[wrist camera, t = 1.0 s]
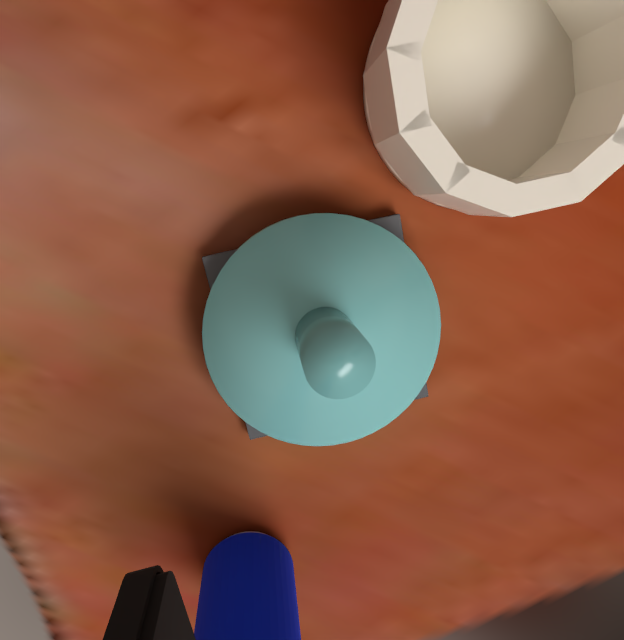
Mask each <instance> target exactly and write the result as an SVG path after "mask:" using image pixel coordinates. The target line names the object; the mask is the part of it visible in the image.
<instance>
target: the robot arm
mask: <svg viewBox="0 0 624 640" xmlns="http://www.w3.org/2000/svg"><path fill="white" fill-rule="evenodd" d="M103 640H196V639H195V636H194V633H193V630H192V627H191V624H190V621H189V618H188V615H187V612H186V609H185V606H184V603H183V600H182V597H181V594H180V591H179V588H178V585H177V582H176V579H175V576H174V574H173V572H172V571H168V572H163V570H162V568H161V567H160V566H158V565H157V566H153V567H149V568H145V569H141V570H138V571H134V572H130V573H127V574H126V575H125V577H124V579H123V581H122V584H121V587H120V590H119V593H118V596H117V599H116V602H115V605H114V608H113V611H112V614H111V617H110V620H109V623H108V626H107V629H106V632H105V635H104V638H103Z"/></svg>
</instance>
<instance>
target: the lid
mask: <svg viewBox="0 0 624 640" xmlns="http://www.w3.org/2000/svg"><path fill="white" fill-rule="evenodd" d="M440 332H441V319H440V308H439V303H438V299H437V294H436V292H435V289H434V286H433V283H432V280H431V279H430V277H429V275H428V273H427V271H426V269H425V267H424V266H423V264H422V263H421V262H420V260H419V259H418V257H417V256H416V255H415V253H414V252H413V251H412V250H411V249H410V248H409V247H408V246H407V245H406V244H405V243H404V242H403V241H401V240H400V239H399V238H398V237H396V236H395V235H394V234H392V233H391V232H389V231H387V230H386V229H384V228H382V227H381V226H379V225H376V224H374V223H372V222H369V221H367V220H364V219H361V218H357V217H353V216H349V215H342V214H334V213H311V214H304V215H297V216H294V217H290V218H287V219H284V220H281V221H279V222H276V223H274V224H272V225H269V226H267V227H266V228H264V229H262V230H261V231H259V232H257V233H256V234H254V235H253V236H252V237H250V238H249V239H248V240H247V241H245V242H244V243H243V244H242V245H241V246H240V247H239V248H238V249H237V250H236V251H235V252H234V253H233V254H232V255H231V256H230V258H229V259H228V261H227V262H226V263H225V265H224V266H223V268H222V269H221V271H220V273H219V274H218V276H217V278H216V280H215V282H214V284H213V286H212V288H211V291H210V294H209V297H208V299H207V302H206V307H205V312H204V316H203V328H202V340H203V351H204V356H205V361H206V365H207V368H208V370H209V373H210V376H211V379H212V381H213V383H214V385H215V386H216V388H217V390H218V392H219V394H220V395H221V396H222V398H223V399H224V401H225V402H226V403H227V405H228V406H229V407H230V408H231V409H232V410H233V411H234V412H235V413H236V414H237V415H238V416H239V417H240V418H241V419H243V420H244V421H245V422H246V423H247V424H249V425H250V426H252V427H254V428H255V429H257V430H258V431H260V432H262V433H264V434H266V435H268V436H271V437H273V438H275V439H278V440H281V441H285V442H288V443H293V444H298V445H306V446H328V445H336V444H342V443H347V442H350V441H353V440H357V439H360V438H362V437H365V436H367V435H369V434H371V433H374V432H376V431H377V430H379V429H381V428H382V427H384V426H386V425H387V424H389V423H390V422H391V421H393V420H394V419H395V418H396V417H398V416H399V415H400V414H401V413H402V412H403V411H404V410H405V409H406V408H407V407H408V406H409V405H410V404H411V403H412V402H413V400H414V399H415V398H416V397H417V395H418V394H419V393H420V391H421V389H422V388H423V386H424V385H425V383H426V381H427V379H428V377H429V375H430V373H431V371H432V369H433V366H434V363H435V360H436V356H437V353H438V348H439V342H440Z"/></svg>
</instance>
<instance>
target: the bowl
mask: <svg viewBox="0 0 624 640" xmlns="http://www.w3.org/2000/svg"><path fill="white" fill-rule="evenodd" d="M363 101H364V110H365V116H366V121H367V125H368V130H369V132H370V135H371V138H372V141H373V143H374V146H375V148H376V150H377V152H378V154H379V156H380V157H381V159H382V161H383V162H384V164H385V165H386V166H387V168H388V169H389V171H390V172H391V173H392V174H393V175H394V176H395V178H396V179H397V180H398V181H399V182H400V183H401V184H402V185H404V186H405V187H406V188H407V189H408V190H410V191H411V192H412V193H413V195H415V196H418V197H420V198H422V199H424V200H426V201H428V202H431V203H433V204H435V205H438V206H442V207H445V208H449V209H455V210H457V211H460V212H463V213H466V214H469V215H481V216H500V217H514V216H519V215H523V214H528V213H532V212H537V211H541V210H546V209H550V208H555V207H559V206H564V205H568V204H573V203H577V202H581V201H582V200H583V199H584V198H585V197H587V196H588V195H589V194H590V193H591V192H592V191H593V190H595V189H596V188H597V187H598V186H599V185H600V184H601V183H603V182H604V181H605V180H606V179H607V178H608V177H609V176H611V175H612V174H613V173H614V172H615V171H616V170H617V169H619V168H620V167H621V166H622V165H623V164H624V0H389V1H388V2H387V4H386V5H385V8H384V11H383V15H382V18H381V21H380V24H379V26H378V28H377V30H376V32H375V35H374V37H373V40H372V43H371V45H370V48H369V52H368V56H367V60H366V65H365V70H364V74H363Z"/></svg>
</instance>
